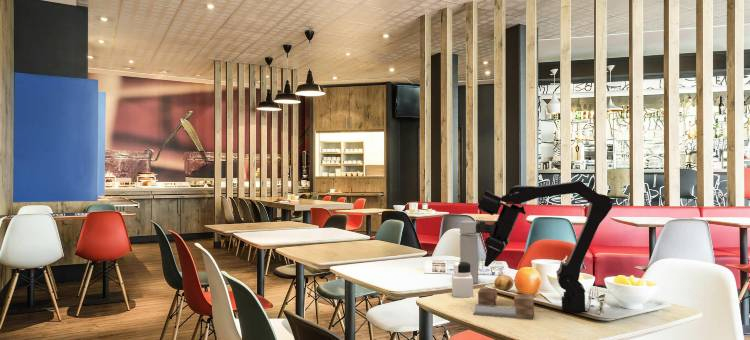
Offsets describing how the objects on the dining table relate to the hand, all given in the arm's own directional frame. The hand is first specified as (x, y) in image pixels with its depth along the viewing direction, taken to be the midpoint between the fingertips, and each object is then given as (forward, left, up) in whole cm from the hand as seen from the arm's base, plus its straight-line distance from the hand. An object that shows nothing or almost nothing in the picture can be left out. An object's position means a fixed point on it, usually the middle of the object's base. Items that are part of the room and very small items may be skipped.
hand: (487, 264), depth 170 cm
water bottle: (+11, -37, -15) cm, 42 cm away
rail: (-6, +10, -15) cm, 18 cm away
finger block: (0, +1, -15) cm, 15 cm away
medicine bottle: (+11, -15, -15) cm, 24 cm away
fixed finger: (-12, +10, -14) cm, 21 cm away
